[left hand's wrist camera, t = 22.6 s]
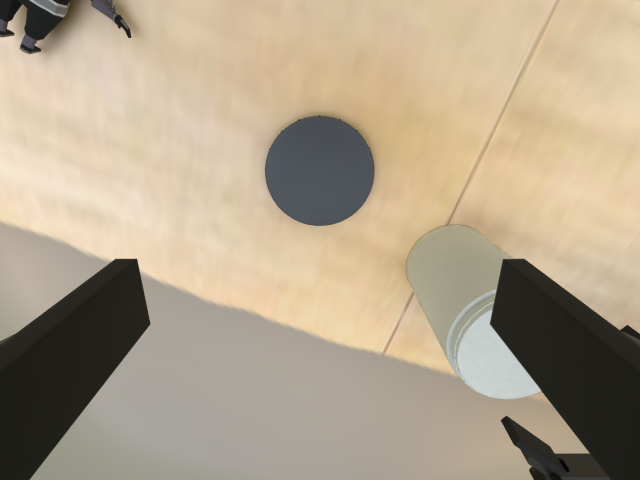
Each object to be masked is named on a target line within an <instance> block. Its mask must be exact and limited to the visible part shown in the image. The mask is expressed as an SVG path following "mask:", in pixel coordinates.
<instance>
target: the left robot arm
mask: <svg viewBox="0 0 640 480" xmlns="http://www.w3.org/2000/svg"><path fill="white" fill-rule="evenodd" d="M149 325H150V320H149V315H148V310H147V305H146V300H145V295H144V290H143V285H142V281H141V276H140V271H139V266H138V261H137V259H115V260H114V261H112V262H111V263H110V264H108V265H107V266H106V267H104V268H103V269H102V270H100V271H99V272H98V273H96V274H95V275H94V276H92V277H91V278H90V279H88V280H87V281H86V282H84V283H83V284H82V285H80V286H79V287H78V288H76V289H75V290H74V291H72V292H71V293H70V294H68V295H67V296H66V297H64V298H63V299H62V300H60V301H59V302H58V303H56V304H55V305H54V306H52V307H51V308H50V309H48V310H47V311H46V312H44V313H43V314H42V315H40V316H39V317H38V318H36V319H35V320H34V321H32V322H31V323H30V324H28V325H27V326H26V327H24V328H23V329H22V330H20V331H19V332H18V333H16V334H14V335H12V336H10V337H8V338H6V339H4V340H2V341H0V480H30V478H31V477H32V476H33V474H34V473H35V472H36V471H37V469H38V468H39V467H40V465H41V464H42V463H43V462H44V460H45V459H46V458H47V456H48V455H49V454H50V453H51V451H52V450H53V449H54V447H55V446H56V445H57V444H58V442H59V441H60V440H61V438H62V437H63V436H64V435H65V433H66V432H67V431H68V429H69V428H70V427H71V426H72V424H73V423H74V422H75V420H76V419H77V418H78V417H79V415H80V414H81V413H82V411H83V410H84V409H85V408H86V406H87V405H88V404H89V402H90V401H91V400H92V399H93V397H94V396H95V395H96V393H97V392H98V391H99V390H100V388H101V387H102V386H103V384H104V383H105V382H106V381H107V379H108V378H109V377H110V375H111V374H112V373H113V372H114V370H115V369H116V368H117V366H118V365H119V364H120V363H121V361H122V360H123V359H124V357H125V356H126V355H127V354H128V352H129V351H130V350H131V348H132V347H133V346H134V345H135V343H136V342H137V341H138V339H139V338H140V337H141V335H142V334H143V333H144V332H145V330H146V329H147V328H148V327H149ZM490 325H491V327H492V328H493V329H494V330H495V332H496V333H497V334H498V336H499V337H500V338H501V339H502V341H503V342H504V343H505V345H506V346H507V347H508V348H509V350H510V351H511V352H512V354H513V355H514V356H515V357H516V359H517V360H518V361H519V363H520V364H521V365H522V366H523V368H524V369H525V370H526V372H527V373H528V374H529V375H530V377H531V378H532V379H533V381H534V382H535V383H536V384H537V386H538V387H539V388H540V390H541V391H542V392H543V393H544V395H545V396H546V397H547V399H548V400H549V401H550V402H551V404H552V405H553V406H554V408H555V409H556V410H557V411H558V413H559V414H560V415H561V416H562V418H563V419H564V420H565V422H566V423H567V424H568V426H569V427H570V428H571V429H572V431H573V432H574V433H575V435H576V436H577V437H578V438H579V440H580V441H581V442H582V444H583V445H584V446H585V447H586V449H587V450H588V451H589V453H590V454H591V455H592V456H593V458H594V459H595V460H596V462H597V463H598V464H599V465H600V467H601V468H602V469H603V471H604V472H605V473H606V474H607V476H608V477H609V478H610V480H640V340H639V339H637V338H635V337H633V336H631V335H629V334H627V333H625V332H621V331H620V330H618V329H617V328H616V327H614V326H613V325H612V324H610V323H609V322H608V321H606V320H605V319H604V318H602V317H601V316H600V315H598V314H597V313H596V312H594V311H593V310H592V309H590V308H589V307H588V306H586V305H585V304H584V303H582V302H581V301H580V300H578V299H577V298H576V297H574V296H573V295H572V294H570V293H569V292H568V291H566V290H565V289H564V288H562V287H561V286H560V285H558V284H557V283H556V282H554V281H553V280H552V279H550V278H549V277H548V276H546V275H545V274H544V273H542V272H541V271H540V270H538V269H537V268H536V267H534V266H533V265H532V264H530V263H529V262H528V261H526V260H525V259H503V261H502V266H501V271H500V276H499V281H498V285H497V290H496V295H495V300H494V305H493V310H492V315H491V320H490Z"/></svg>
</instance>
